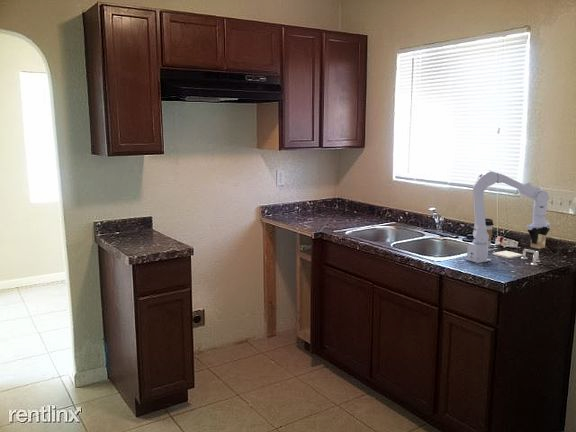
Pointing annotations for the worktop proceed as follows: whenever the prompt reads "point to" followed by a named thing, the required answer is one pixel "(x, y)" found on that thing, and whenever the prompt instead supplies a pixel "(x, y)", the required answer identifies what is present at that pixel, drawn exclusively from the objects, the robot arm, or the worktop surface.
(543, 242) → the maple block
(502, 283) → the worktop surface
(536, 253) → the grey white arch
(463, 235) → the worktop surface
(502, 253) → the cream pad
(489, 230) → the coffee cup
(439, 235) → the worktop surface
